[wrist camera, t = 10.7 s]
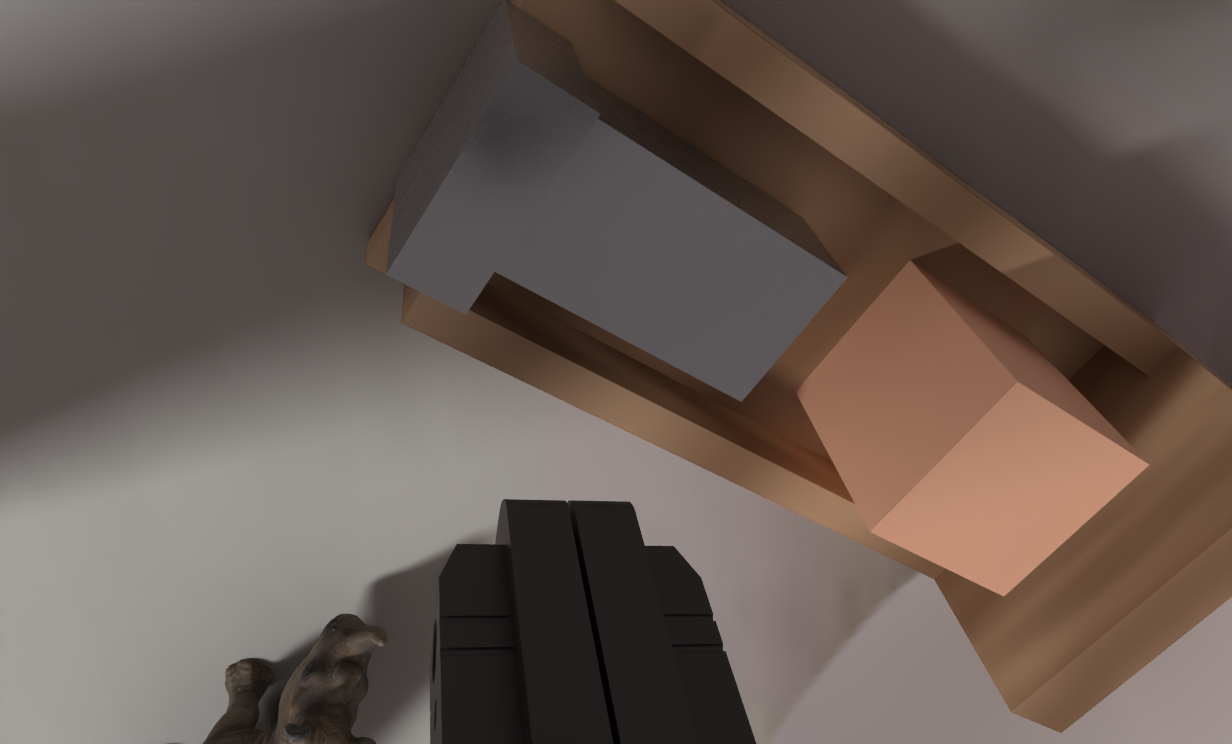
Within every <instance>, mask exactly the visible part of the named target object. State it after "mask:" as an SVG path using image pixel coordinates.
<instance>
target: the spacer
mask: <svg viewBox="0 0 1232 744" xmlns="http://www.w3.org/2000/svg"><path fill="white" fill-rule="evenodd" d="M796 394H797V396H798V398H799V400H800V401H801V403H802V405H803V407H804V409H805V411H806V413H807V415H808V416H809V418H810V420H811V422H812V424H813V426H814V428H815V430H816V431H817V433H818V435H819V437H820V439H821V441H822V443H823V445H824V446H825V448H826V450H827V452H828V454H829V456H830V458H831V460H832V461H833V463H834V465H835V467H836V469H837V471H838V473H839V475H840V476H841V478H842V480H843V482H844V484H845V486H846V488H847V490H848V491H849V493H850V495H851V497H852V499H853V501H854V503H855V505H856V507H857V508H858V510H859V512H860V514H861V516H862V518H863V520H864V522H865V523H866V525H867V527H868V529H869V531H870V532H871V533H873V534H875V535H877V536H879V537H881V538H884V539H886V540H888V541H890V542H892V543H894V544H896V545H898V546H900V547H902V548H904V549H906V550H908V551H910V552H913V553H915V554H917V555H919V556H921V557H923V558H925V559H927V560H929V561H931V562H933V563H935V564H937V565H939V566H941V567H944V568H946V569H948V570H950V571H952V572H954V573H956V574H958V575H960V576H962V577H964V578H966V579H968V580H970V581H973V582H975V583H977V584H979V585H981V586H983V587H985V588H987V589H989V590H991V591H993V592H995V593H997V594H999V595H1002V596H1005V595H1006V594H1007V593H1009V592H1010V591H1011V590H1012V589H1013V588H1014V587H1015V586H1016V585H1017V584H1018V583H1020V582H1021V581H1022V580H1023V579H1024V578H1025V577H1026V576H1027V575H1028V574H1030V573H1031V572H1032V571H1033V570H1034V569H1035V568H1036V567H1037V566H1038V565H1039V564H1041V563H1042V562H1043V561H1044V560H1045V559H1046V558H1047V557H1048V556H1049V555H1051V554H1052V553H1053V552H1054V551H1055V550H1056V549H1057V548H1058V547H1059V546H1060V545H1062V544H1063V543H1064V542H1065V541H1066V540H1067V539H1068V538H1069V537H1070V536H1072V535H1073V534H1074V533H1075V532H1076V531H1077V530H1078V529H1079V528H1080V527H1081V526H1083V525H1084V524H1085V523H1086V522H1087V521H1088V520H1089V519H1090V518H1091V517H1092V516H1094V515H1095V514H1096V513H1097V512H1098V511H1099V510H1100V509H1101V508H1102V507H1104V506H1105V505H1106V504H1107V503H1108V502H1109V501H1110V500H1111V499H1112V498H1113V497H1115V496H1116V495H1117V494H1118V493H1119V492H1120V491H1121V490H1122V489H1123V488H1125V487H1126V486H1127V485H1128V484H1129V483H1130V482H1131V481H1132V480H1133V479H1134V478H1136V477H1137V476H1138V475H1139V474H1140V473H1141V472H1142V471H1143V470H1144V469H1146V468H1147V467H1148V466H1149V465H1150V464H1149V463H1148V462H1147V461H1146V460H1145V459H1144V458H1143V457H1142V456H1141V455H1140V454H1139V453H1138V452H1137V451H1136V450H1135V449H1134V448H1133V447H1132V446H1131V445H1130V444H1129V443H1128V442H1127V441H1126V440H1125V439H1124V438H1123V437H1122V436H1121V434H1120V433H1119V432H1118V431H1117V430H1116V429H1115V428H1114V427H1113V426H1112V425H1111V424H1110V423H1109V422H1108V421H1107V420H1106V419H1105V418H1104V417H1103V416H1102V415H1101V414H1100V413H1099V412H1098V411H1097V410H1096V409H1095V408H1094V407H1093V406H1092V404H1091V403H1090V402H1089V401H1088V400H1087V399H1086V398H1085V397H1084V396H1083V395H1082V394H1081V393H1080V392H1079V391H1078V390H1077V389H1076V388H1075V387H1074V386H1073V385H1072V384H1071V383H1070V382H1069V381H1068V380H1067V379H1066V378H1065V377H1064V375H1063V374H1062V373H1061V372H1060V371H1059V370H1058V369H1057V368H1056V367H1055V366H1054V365H1053V364H1052V363H1051V362H1050V361H1049V360H1048V359H1047V358H1046V357H1045V356H1044V355H1043V354H1042V353H1041V352H1040V351H1039V350H1038V349H1037V348H1036V347H1035V345H1034V344H1033V343H1032V342H1031V341H1030V340H1029V339H1028V338H1027V337H1026V336H1024V335H1023V334H1021V333H1019V332H1018V331H1016V330H1015V329H1013V328H1012V327H1010V326H1009V325H1007V324H1006V323H1004V322H1003V321H1001V320H1000V319H998V318H997V317H995V316H994V315H992V314H991V313H989V312H988V311H986V310H985V309H983V308H982V307H980V306H979V305H977V304H976V303H974V302H973V301H971V300H970V299H968V298H967V297H965V296H963V295H962V294H960V293H959V292H957V291H956V290H954V289H953V288H951V287H950V286H948V285H947V284H945V283H944V282H942V281H941V280H939V279H938V278H936V277H935V276H933V275H932V274H930V273H929V272H927V271H926V270H924V269H923V268H921V267H920V266H918V265H917V264H915V263H914V262H912V261H911V260H910V261H909V262H908V263H907V264H906V265H905V266H904V267H903V269H902V270H901V271H900V272H899V273H898V274H897V276H896V277H895V278H894V279H893V280H892V281H891V282H890V284H889V285H888V286H887V287H886V288H885V289H884V290H883V292H882V293H881V294H880V295H879V296H878V297H877V299H876V300H875V301H874V302H873V303H872V304H871V305H870V307H869V308H868V309H867V310H866V311H865V312H864V313H863V315H862V316H861V317H860V318H859V319H858V320H857V322H856V323H855V324H854V325H853V326H852V327H851V328H850V330H849V331H848V332H847V333H846V334H845V335H844V336H843V338H842V339H841V340H840V341H839V342H838V343H837V345H836V346H835V347H834V348H833V349H832V350H831V351H830V353H829V354H828V355H827V356H826V357H825V358H824V359H823V361H822V362H821V363H820V364H819V365H818V366H817V368H816V369H815V370H814V371H813V372H812V373H811V374H810V376H809V377H808V378H807V379H806V380H805V381H804V382H803V384H802V385H801V386H800V387H799V388H798V389H797V391H796Z"/></svg>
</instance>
